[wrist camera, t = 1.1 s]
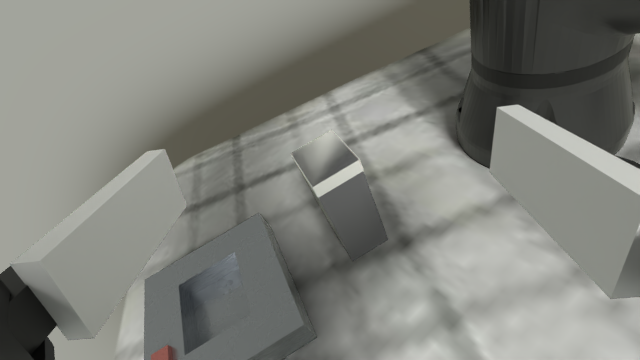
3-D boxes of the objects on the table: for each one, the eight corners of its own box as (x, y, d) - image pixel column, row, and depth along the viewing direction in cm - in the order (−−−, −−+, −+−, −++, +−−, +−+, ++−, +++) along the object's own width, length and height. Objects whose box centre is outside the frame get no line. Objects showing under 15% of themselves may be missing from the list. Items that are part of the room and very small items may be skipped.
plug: (363, 207, 36) (331, 129, 28) (388, 239, 32) (359, 159, 24) (330, 226, 35) (290, 153, 28) (352, 261, 31) (312, 187, 24)
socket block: (270, 227, 38) (256, 209, 36) (316, 337, 28) (300, 321, 25) (163, 292, 37) (140, 277, 35) (169, 430, 27) (138, 423, 24)
